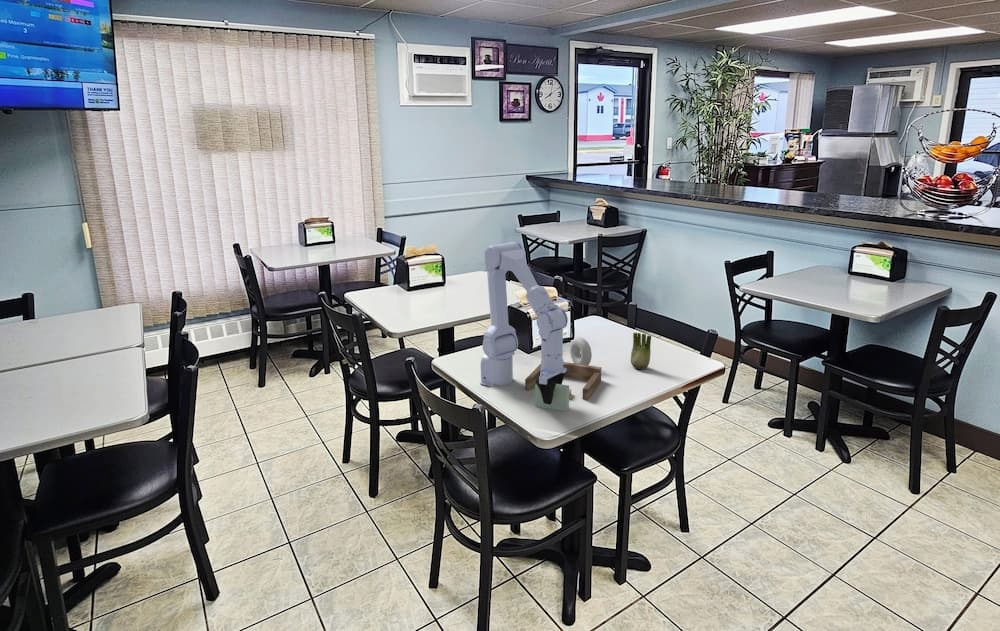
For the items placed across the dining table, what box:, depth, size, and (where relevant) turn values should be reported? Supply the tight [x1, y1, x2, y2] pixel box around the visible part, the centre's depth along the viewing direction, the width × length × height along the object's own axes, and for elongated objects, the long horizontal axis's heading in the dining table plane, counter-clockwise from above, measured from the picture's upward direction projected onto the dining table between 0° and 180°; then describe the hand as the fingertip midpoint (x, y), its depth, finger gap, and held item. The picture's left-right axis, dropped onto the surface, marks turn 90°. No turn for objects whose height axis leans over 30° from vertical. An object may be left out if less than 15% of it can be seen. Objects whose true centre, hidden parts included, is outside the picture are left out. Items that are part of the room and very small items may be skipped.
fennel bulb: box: [630, 332, 652, 370], centre depth 189 cm, size 6×5×12 cm
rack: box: [524, 361, 603, 401], centre depth 178 cm, size 19×15×5 cm
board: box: [534, 383, 570, 412], centre depth 163 cm, size 9×2×7 cm, turn 66°
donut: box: [569, 336, 593, 366], centre depth 192 cm, size 10×4×10 cm, turn 25°
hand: (551, 398), depth 163 cm, fingers open, 6 cm apart
